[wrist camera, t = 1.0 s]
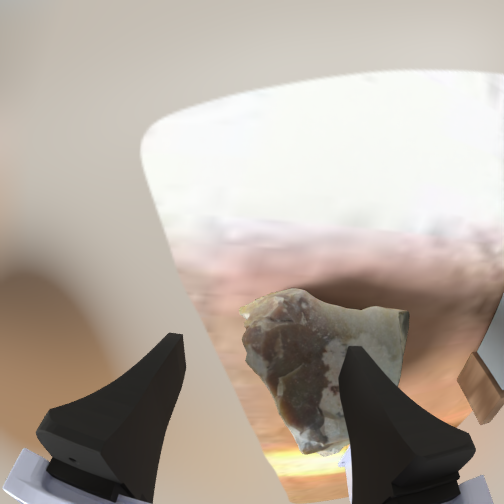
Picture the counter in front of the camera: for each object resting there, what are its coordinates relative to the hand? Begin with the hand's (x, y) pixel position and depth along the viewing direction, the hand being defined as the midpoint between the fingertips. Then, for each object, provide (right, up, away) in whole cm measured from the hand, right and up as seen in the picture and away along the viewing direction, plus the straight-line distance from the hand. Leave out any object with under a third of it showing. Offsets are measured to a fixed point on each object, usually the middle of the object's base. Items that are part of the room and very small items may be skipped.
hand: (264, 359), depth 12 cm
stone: (+9, -4, +3) cm, 10 cm away
